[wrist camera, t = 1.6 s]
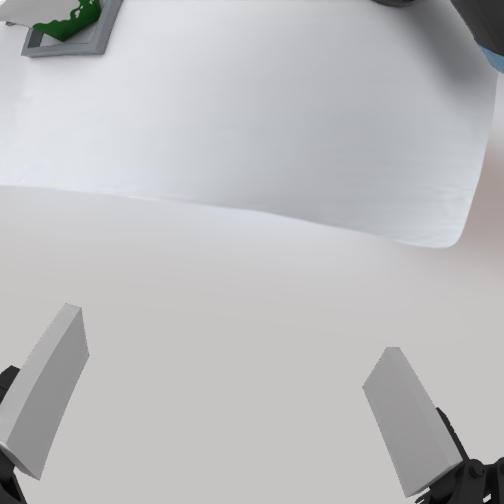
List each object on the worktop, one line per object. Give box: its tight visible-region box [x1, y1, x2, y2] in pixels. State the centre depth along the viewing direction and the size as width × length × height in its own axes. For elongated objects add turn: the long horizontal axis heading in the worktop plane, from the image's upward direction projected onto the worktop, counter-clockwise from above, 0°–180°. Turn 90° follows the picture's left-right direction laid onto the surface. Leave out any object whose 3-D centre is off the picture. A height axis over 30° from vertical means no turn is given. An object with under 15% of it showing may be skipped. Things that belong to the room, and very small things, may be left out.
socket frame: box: [21, 0, 123, 57], centre depth 24 cm, size 14×14×3 cm
